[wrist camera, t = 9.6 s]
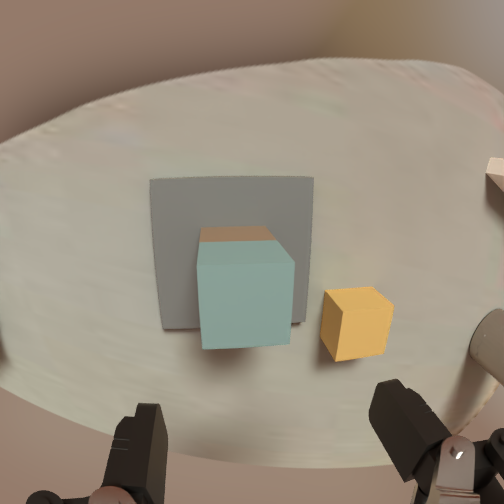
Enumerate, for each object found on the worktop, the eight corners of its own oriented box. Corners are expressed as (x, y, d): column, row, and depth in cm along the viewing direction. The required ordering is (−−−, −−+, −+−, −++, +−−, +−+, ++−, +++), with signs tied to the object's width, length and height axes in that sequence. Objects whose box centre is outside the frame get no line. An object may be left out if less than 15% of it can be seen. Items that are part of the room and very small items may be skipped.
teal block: (277, 240, 23) (294, 262, 18) (274, 309, 24) (289, 344, 19) (199, 242, 22) (196, 265, 17) (203, 312, 23) (202, 349, 19)
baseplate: (309, 176, 28) (335, 182, 22) (302, 316, 32) (321, 348, 26) (152, 179, 26) (136, 184, 20) (164, 322, 30) (155, 358, 24)
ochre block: (371, 286, 32) (394, 305, 27) (363, 330, 34) (383, 353, 29) (324, 289, 31) (343, 311, 27) (319, 335, 33) (335, 361, 28)
